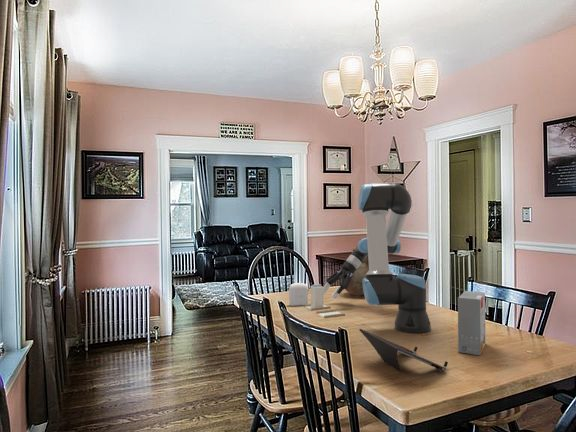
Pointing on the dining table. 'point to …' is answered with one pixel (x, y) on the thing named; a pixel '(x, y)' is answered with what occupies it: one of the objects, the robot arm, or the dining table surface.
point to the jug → (358, 279)
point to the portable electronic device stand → (395, 352)
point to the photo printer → (298, 294)
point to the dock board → (325, 311)
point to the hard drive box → (471, 322)
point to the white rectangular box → (317, 296)
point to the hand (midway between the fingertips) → (327, 295)
